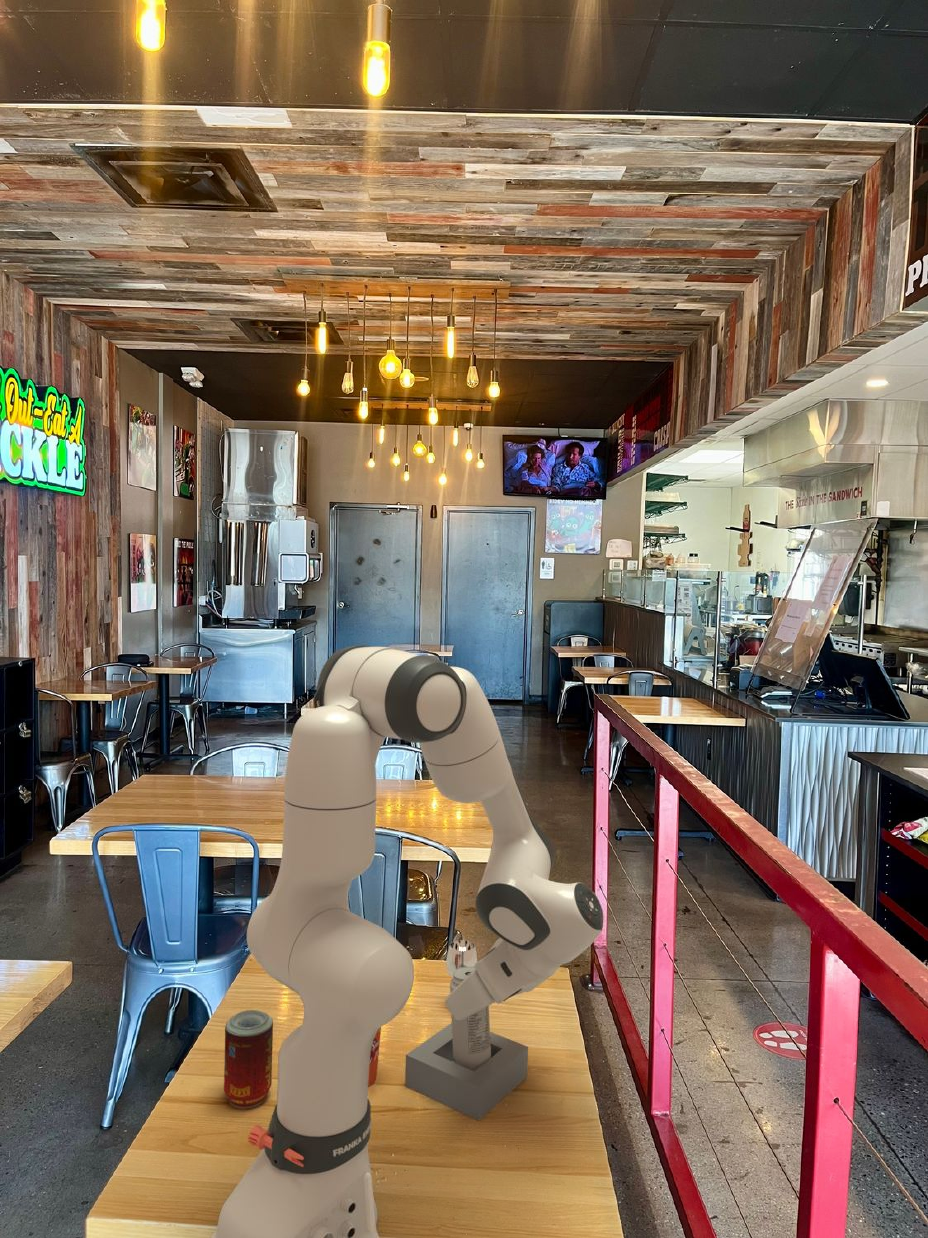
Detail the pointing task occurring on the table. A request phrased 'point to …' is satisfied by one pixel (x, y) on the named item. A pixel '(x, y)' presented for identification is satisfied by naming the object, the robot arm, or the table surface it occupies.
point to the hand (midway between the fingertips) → (467, 1001)
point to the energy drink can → (470, 1031)
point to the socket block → (466, 1073)
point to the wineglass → (460, 956)
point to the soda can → (248, 1058)
